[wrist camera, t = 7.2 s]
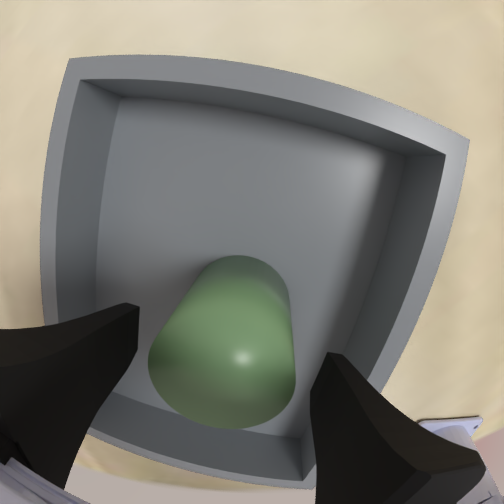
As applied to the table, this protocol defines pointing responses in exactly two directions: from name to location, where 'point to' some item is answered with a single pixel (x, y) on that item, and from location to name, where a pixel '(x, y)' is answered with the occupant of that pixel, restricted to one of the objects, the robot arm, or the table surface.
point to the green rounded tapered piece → (228, 347)
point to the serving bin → (241, 229)
